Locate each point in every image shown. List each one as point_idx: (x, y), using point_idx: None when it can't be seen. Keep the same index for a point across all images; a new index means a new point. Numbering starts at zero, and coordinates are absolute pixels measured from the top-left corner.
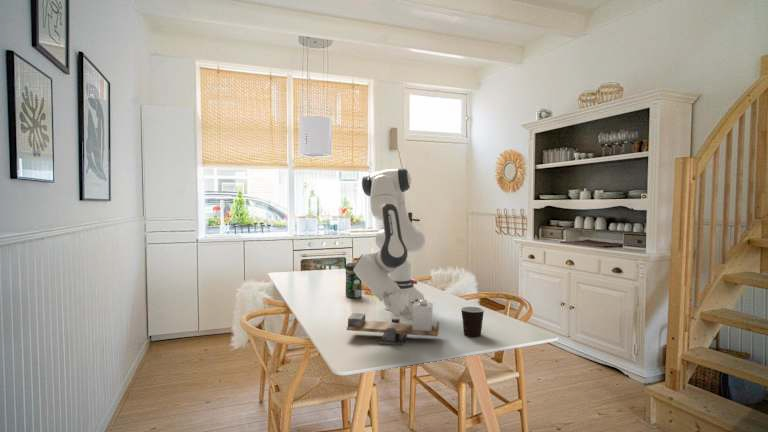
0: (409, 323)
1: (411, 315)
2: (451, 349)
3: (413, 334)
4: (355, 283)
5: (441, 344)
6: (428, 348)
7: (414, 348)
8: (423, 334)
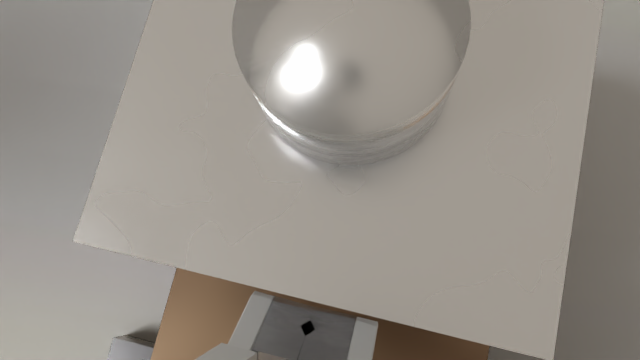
0: (167, 320)
1: (374, 340)
2: (611, 8)
3: None
4: None
5: None
6: (595, 190)
7: (601, 319)
8: None
